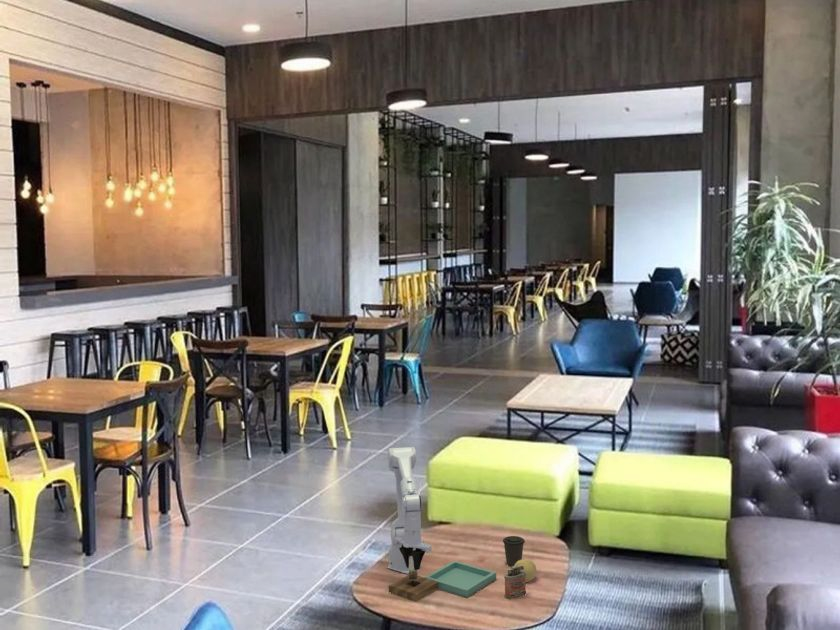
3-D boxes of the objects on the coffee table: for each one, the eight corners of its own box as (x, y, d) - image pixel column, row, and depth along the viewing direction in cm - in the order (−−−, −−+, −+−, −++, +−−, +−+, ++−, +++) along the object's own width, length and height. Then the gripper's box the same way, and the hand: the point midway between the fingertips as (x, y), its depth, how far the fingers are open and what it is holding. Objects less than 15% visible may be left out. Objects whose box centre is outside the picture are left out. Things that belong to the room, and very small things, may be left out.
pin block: (388, 592, 278) (388, 585, 278) (410, 580, 288) (410, 573, 287) (416, 601, 271) (416, 594, 271) (438, 588, 280) (438, 581, 280)
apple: (537, 584, 282) (525, 566, 280) (517, 589, 286) (506, 571, 285) (542, 569, 288) (531, 552, 287) (523, 574, 292) (512, 557, 291)
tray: (424, 584, 284) (424, 577, 284) (454, 567, 298) (454, 560, 298) (467, 597, 273) (467, 590, 273) (496, 579, 287) (496, 572, 287)
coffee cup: (500, 567, 298) (499, 540, 297) (506, 558, 305) (506, 532, 304) (521, 570, 295) (521, 543, 294) (527, 561, 302) (527, 535, 301)
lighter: (508, 600, 271) (507, 570, 270) (502, 596, 274) (502, 567, 273) (528, 594, 274) (528, 566, 273) (522, 591, 277) (522, 562, 276)
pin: (407, 578, 278) (406, 555, 278) (412, 575, 281) (412, 552, 280) (414, 580, 277) (413, 557, 276) (419, 577, 279) (419, 554, 278)
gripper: (388, 528, 278) (389, 566, 280) (422, 537, 269) (422, 577, 271) (401, 522, 284) (402, 560, 285) (434, 531, 275) (435, 570, 276)
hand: (413, 568), depth 278 cm, fingers closed on pin, 3 cm apart
